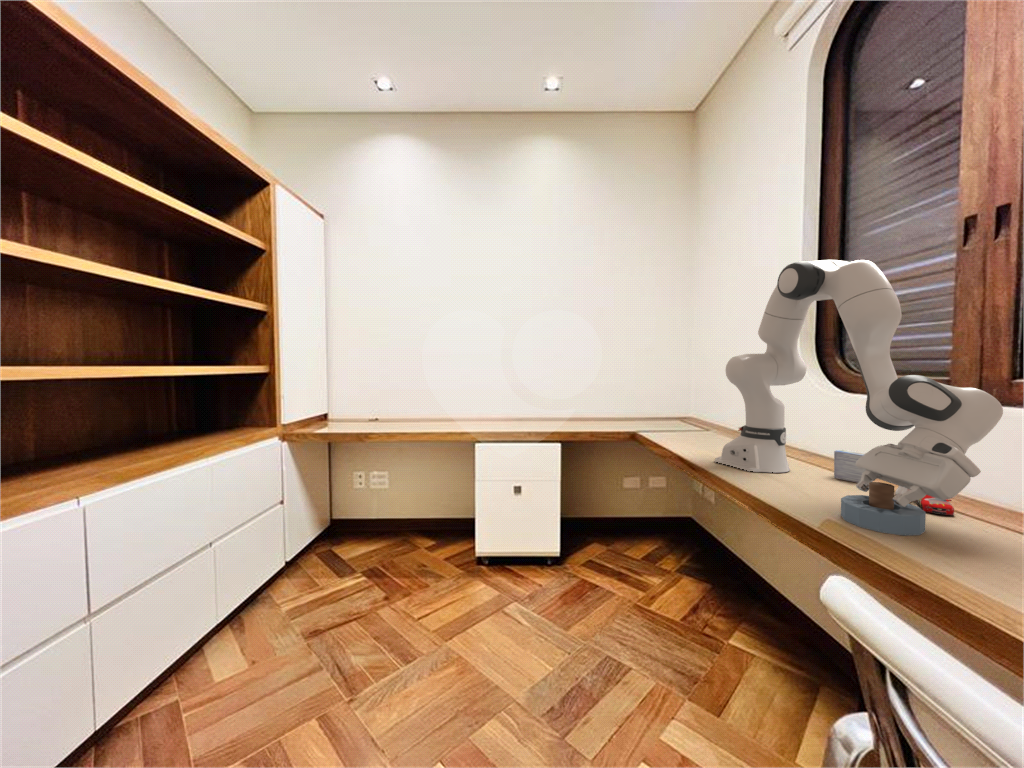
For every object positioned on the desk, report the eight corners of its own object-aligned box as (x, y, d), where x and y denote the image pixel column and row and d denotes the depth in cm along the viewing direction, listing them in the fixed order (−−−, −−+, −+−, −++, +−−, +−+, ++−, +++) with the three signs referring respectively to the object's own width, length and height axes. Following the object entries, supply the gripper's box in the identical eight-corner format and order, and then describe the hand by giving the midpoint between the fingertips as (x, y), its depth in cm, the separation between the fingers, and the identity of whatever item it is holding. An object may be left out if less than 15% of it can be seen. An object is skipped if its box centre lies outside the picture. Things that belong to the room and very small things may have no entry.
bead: (831, 519, 88) (832, 501, 88) (855, 508, 95) (855, 491, 94) (912, 540, 77) (912, 520, 77) (932, 526, 84) (932, 507, 83)
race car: (956, 520, 87) (957, 502, 87) (921, 514, 91) (922, 497, 91) (943, 503, 98) (944, 487, 97) (912, 499, 101) (913, 483, 101)
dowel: (865, 521, 86) (866, 483, 86) (872, 517, 88) (873, 481, 88) (889, 527, 83) (890, 488, 83) (896, 523, 85) (897, 485, 85)
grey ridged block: (873, 482, 115) (873, 453, 114) (865, 484, 113) (866, 455, 112) (841, 476, 122) (841, 448, 121) (833, 478, 120) (833, 450, 119)
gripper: (875, 433, 95) (832, 473, 96) (966, 451, 75) (910, 501, 76) (894, 451, 95) (850, 491, 96) (991, 474, 74) (934, 524, 75)
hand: (877, 495), depth 86 cm, fingers open, 8 cm apart
